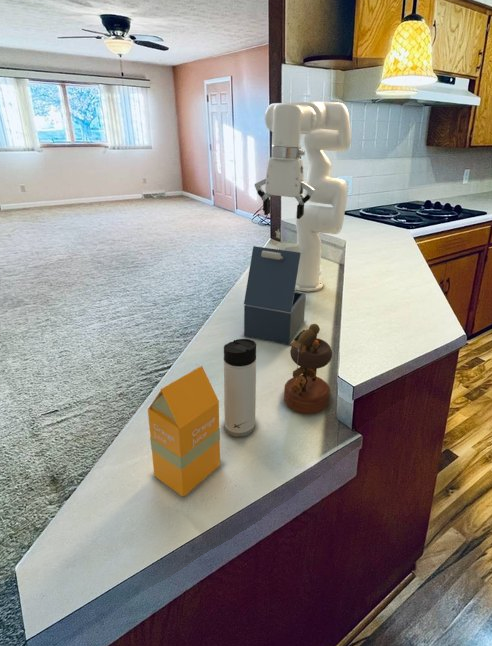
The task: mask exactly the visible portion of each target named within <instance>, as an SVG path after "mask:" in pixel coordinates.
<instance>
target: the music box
mask: <svg viewBox="0 0 492 646" xmlns="http://www.w3.org/2000/svg"><path fill="white" fill-rule="evenodd" d="M320 330H321V328H320V326H319V324H317V323H312V324H310V325H309V326H308V328H307V329H306V328H305V329H302V330H301V331H300V332H299V333H297V334H296V335H295V337H294V338H293V341H292V342H291V343H290V344H289V345H288V346H289V347H290V350H289V351H290V352H289V353H290V358H291V360H292V362H294V364H296V365H297V366H296V369H294V370H293V371H292V377H291V378H289V379H288V380H287V381H286V383H285V384H284V392H283V401H284V404H285V405H286V407H288V409H289V410H291V411H293V412H295V413H298V414H302V415H315V414H318V413H321V412H323V411H324V410H325V409H327V408H328V406H329V403H330V397H331V396H330V394H331V387H330V385H329V384H328V383H327V382H326V381H325V380H324V379H322V378H321V377H319V376H317V372H318V370H319V369H321V368H324V367H326V366H327V365H328V364H329V363H330V362H331V360H332V358H333V349H332V346H331V345H330V344H329V343H328V342H327V341H326V340H323V339H321V338H318V334H319V333H320ZM317 369H318V370H317Z"/></svg>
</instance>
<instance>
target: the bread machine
mask: <svg viewBox="0 0 492 646" xmlns="http://www.w3.org/2000/svg"><path fill="white" fill-rule="evenodd" d="M306 296H307V293H306V292H302V291H301V292H300V291H296V292H295V293H294V299H293V305H292V311H291V312H286V311H280V310H274V309H269V308H263V307H257V306H251V305H245V304H244V306H243V337H244V338H251V339H255V340H261V341H266V342H272V343H276V344H282V345H287V346H289V344H290V343H292V342H293V341H294V339H295V338H296V336H297V334H298V332H299V331H300V328H301V327H302V325H303V324H304V323H305V312H306V311H305V310H306Z"/></svg>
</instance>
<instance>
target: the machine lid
mask: <svg viewBox="0 0 492 646" xmlns="http://www.w3.org/2000/svg"><path fill="white" fill-rule="evenodd" d="M300 256H301V253H300V252H292V251H285V250H279V248H278V249H277V248H270V247H263V246H256V245H253V246H252V253H251V257H250V263H249V269H248V275H247V283H246V288H245V295H244V301H243V305H244V306H245V305H251V306H257V307H263V308H269V309H274V310H280V311H286V312H291V311H292V305H293V299H294V293H295V287H296V281H297V274H298V268H299V262H300Z"/></svg>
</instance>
